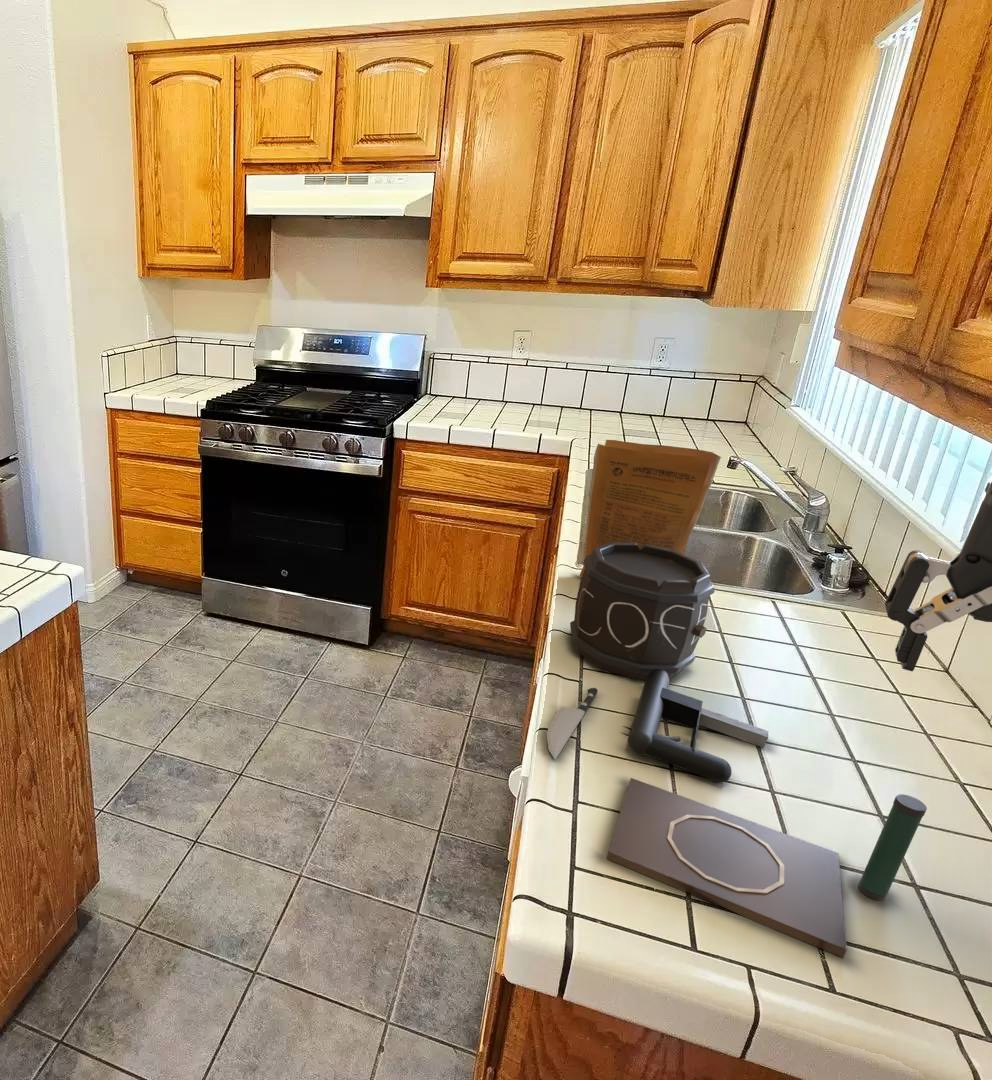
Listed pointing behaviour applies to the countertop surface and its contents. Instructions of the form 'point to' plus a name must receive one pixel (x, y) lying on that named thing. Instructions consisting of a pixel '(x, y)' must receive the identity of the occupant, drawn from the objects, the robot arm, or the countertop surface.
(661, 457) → the pancake mix bag
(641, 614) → the coffee canister
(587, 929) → the countertop surface
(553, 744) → the chef's knife
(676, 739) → the door handle
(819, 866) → the drawing board
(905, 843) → the marker
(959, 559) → the robot arm
